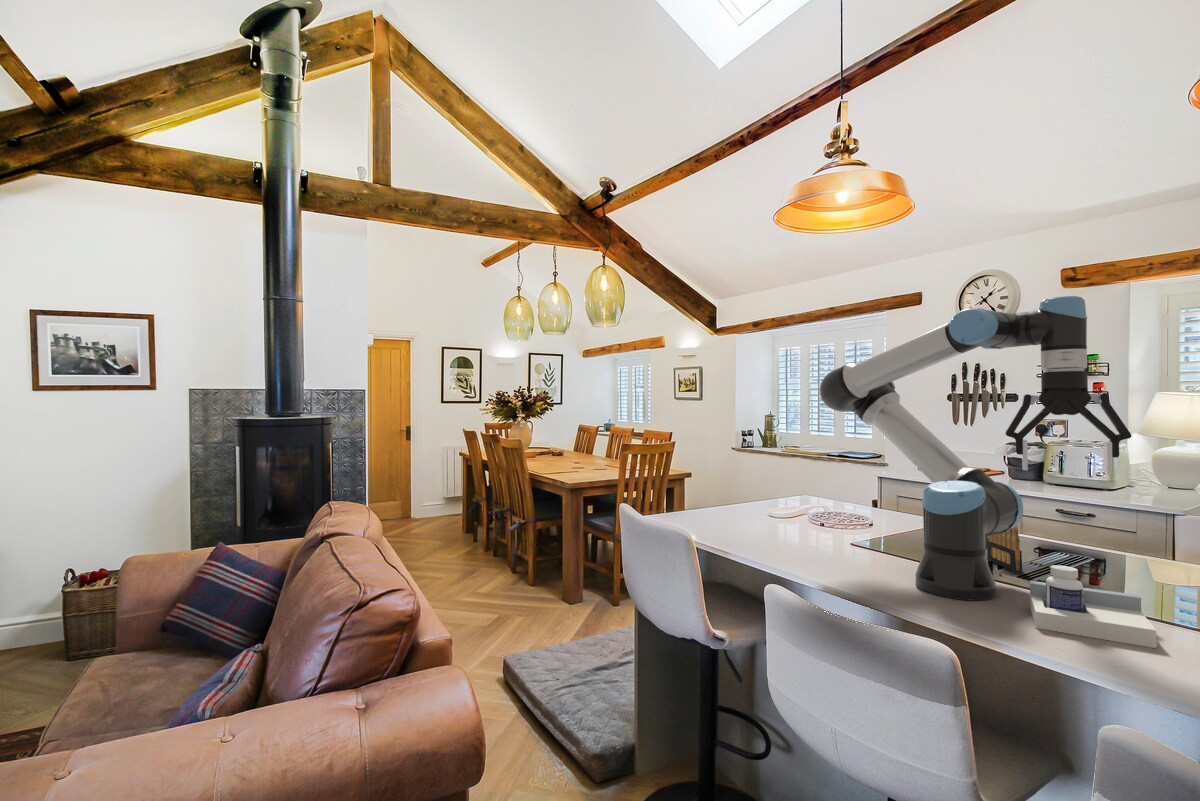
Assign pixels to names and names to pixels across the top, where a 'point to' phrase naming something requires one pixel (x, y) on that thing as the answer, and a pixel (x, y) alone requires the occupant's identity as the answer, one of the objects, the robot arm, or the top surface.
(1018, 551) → the ammunition clip
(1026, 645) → the top surface
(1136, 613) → the white slotted tray
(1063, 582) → the pill bottle
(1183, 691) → the top surface
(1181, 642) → the top surface
